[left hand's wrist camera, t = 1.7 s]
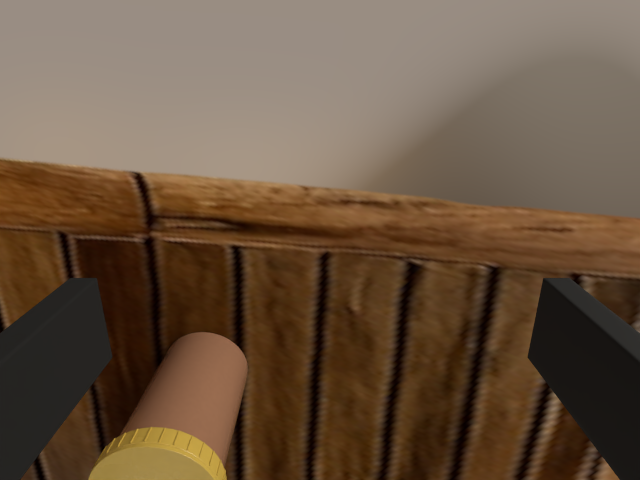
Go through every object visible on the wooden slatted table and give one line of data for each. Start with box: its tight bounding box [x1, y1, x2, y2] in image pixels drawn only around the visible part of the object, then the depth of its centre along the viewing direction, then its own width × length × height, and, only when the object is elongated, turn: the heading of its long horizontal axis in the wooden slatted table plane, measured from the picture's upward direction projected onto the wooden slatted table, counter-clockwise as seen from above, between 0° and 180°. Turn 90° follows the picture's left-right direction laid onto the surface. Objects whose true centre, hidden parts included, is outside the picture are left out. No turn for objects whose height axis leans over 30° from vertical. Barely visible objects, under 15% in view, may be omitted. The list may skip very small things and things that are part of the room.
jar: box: [120, 332, 248, 468], centre depth 40 cm, size 9×9×15 cm
